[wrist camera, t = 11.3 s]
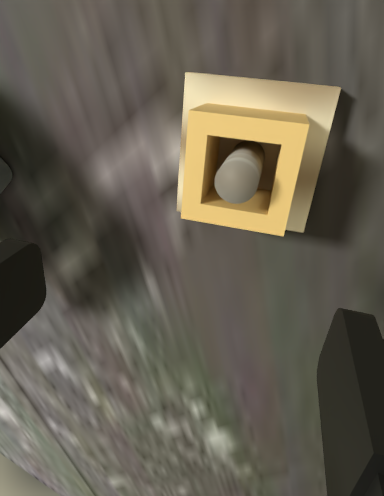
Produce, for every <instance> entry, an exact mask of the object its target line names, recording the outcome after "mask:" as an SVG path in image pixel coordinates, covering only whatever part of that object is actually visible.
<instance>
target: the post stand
mask: <svg viewBox="0 0 384 496" xmlns="http://www.w3.org/2000/svg"><path fill="white" fill-rule="evenodd" d="M340 90H341V87H336V86H326V85H316V84H306V83H295V82H285V81H275V80H265V79H255V78H244V77H234V76H224V75H214V74H204V73H193V72H185V87H184V103H183V118H182V134H181V149H180V165H179V180H178V196H177V211H180V212H181V209H182V195H183V181H184V167H185V153H186V139H187V126H188V112H189V110H190V109H193V108H195V107H198V106H200V105H203V104H205V103H212V104H221V105H230V106H239V107H247V108H256V109H265V110H274V111H283V112H291V113H300V114H306V117H307V119H308V122H309V129H308V133H307V137H306V142H305V146H304V150H303V155H302V159H301V163H300V168H299V172H298V176H297V181H296V185H295V189H294V194H293V198H292V202H291V207H290V211H289V215H288V220H287V224H286V228H285V230H290V231H296V232H302V233H304V229H305V225H306V221H307V217H308V213H309V209H310V206H311V202H312V198H313V194H314V190H315V186H316V182H317V179H318V175H319V171H320V167H321V163H322V159H323V156H324V152H325V148H326V144H327V140H328V136H329V132H330V129H331V125H332V121H333V117H334V113H335V109H336V105H337V102H338V98H339V94H340ZM279 149H280V144H273V143H265V142H258V141H250V140H242V139H235V138H227V137H220V144H219V153H218V161H217V170H216V176H215V188H216V191H217V193H218V194H219V196H220V197H221V198H222V199H224V200H225V201H227V202H229V203H233V204H240V203H244V202H246V201H248V200H250V199H251V198H252V197H253V196H254V194H255V193H256V191H257V188H259V189H265V190H271V189H272V184H273V179H274V174H275V169H276V164H277V159H278V154H279Z"/></svg>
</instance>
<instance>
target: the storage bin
mask: <svg viewBox="0 0 384 496" xmlns="http://www.w3.org/2000/svg"><path fill="white" fill-rule="evenodd" d="M11 180H12V171H11V169H10V168H9V166H8V165H7V164H6V163H5V162H4V161H3V160H2V159H1V158H0V194H1V192H2V191H3V190H4V189H5V187H6V186H7V185H8V184H9V182H10V181H11Z"/></svg>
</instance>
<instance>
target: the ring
mask: <svg viewBox="0 0 384 496" xmlns="http://www.w3.org/2000/svg"><path fill="white" fill-rule="evenodd" d="M308 129H309V122H308V119H307V117H306V114H300V113H291V112H283V111H274V110H265V109H256V108H247V107H239V106H230V105H221V104H212V103H205V104H203V105H200V106H198V107H195V108H193V109H190V110H189V112H188V126H187V139H186V153H185V167H184V181H183V195H182V209H181V218H182V219H188V220H194V221H199V222H205V223H211V224H216V225H222V226H228V227H233V228H239V229H245V230H250V231H256V232H262V233H268V234H273V235H279V236H284V233H285V228H286V224H287V220H288V215H289V211H290V207H291V202H292V198H293V194H294V189H295V185H296V181H297V176H298V172H299V168H300V163H301V159H302V155H303V150H304V146H305V142H306V137H307V133H308ZM220 137H227V138H235V139H242V140H250V141H258V142H265V143H273V144H280V149H279V154H278V159H277V164H276V169H275V174H274V179H273V184H272V189H271V190H265V189H259V188H257V191H256V193H255V194H254V196H253V197H252V198H251V199H250V200H248V201H246V202H244V203H240V204H233V203H229V202H227V201H225V200H224V199H222V198H221V197H220V196H219V194H218V193H217V191H216V188H215V176H216V170H217V161H218V153H219V144H220Z"/></svg>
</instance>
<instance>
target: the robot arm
mask: <svg viewBox="0 0 384 496" xmlns="http://www.w3.org/2000/svg"><path fill="white" fill-rule="evenodd" d="M45 298H46V284H45V277H44V270H43V263H42V256H41V251H40V248H39V247H38V246H37V245H36V244H34V243H29V242H24V241H19V240H14V239H6V240H4V241H2V242H1V243H0V348H2V347H3V346H4V345H5V344H6V343H7V342H8V341H9V340H10V339H11V338H12V337H13V336H14V335H15V334H16V333H17V332H18V331H19V330H20V329H21V328H22V327H23V326H24V325H25V324H26V323H27V322H28V321H29V320H30V319H31V318H32V317H33V316H34V315H35V314H36V313H37V312H38V311H39V310H40V309H41V307H42V306H43V304H44V301H45ZM317 386H318V397H319V408H320V419H321V430H322V441H323V453H324V464H325V475H326V486H327V496H384V339H382V336H381V333H380V330H379V327H378V324H377V321H376V319H375V317H374V316H373V315H371V314H366V313H361V312H357V311H352V310H347V309H342V308H338V309H337V311H336V313H335V315H334V317H333V320H332V323H331V326H330V329H329V331H328V334H327V337H326V340H325V343H324V345H323V348H322V351H321V354H320V357H319V362H318V368H317Z"/></svg>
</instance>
